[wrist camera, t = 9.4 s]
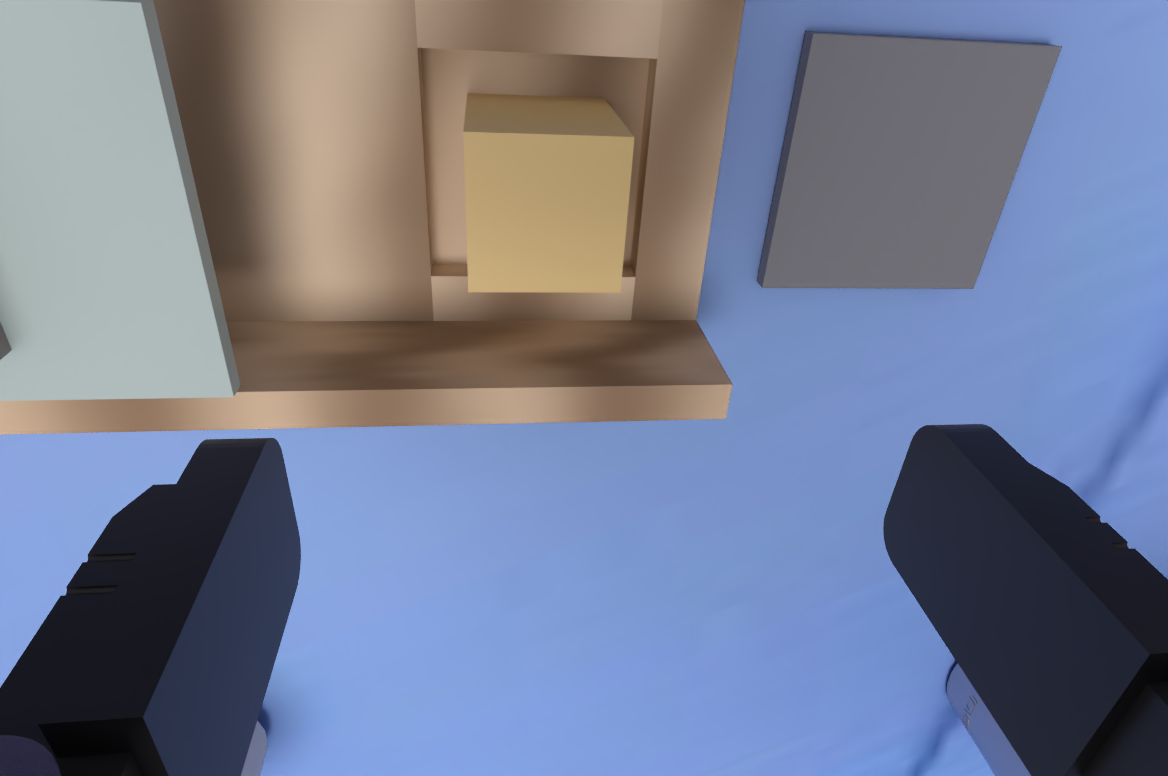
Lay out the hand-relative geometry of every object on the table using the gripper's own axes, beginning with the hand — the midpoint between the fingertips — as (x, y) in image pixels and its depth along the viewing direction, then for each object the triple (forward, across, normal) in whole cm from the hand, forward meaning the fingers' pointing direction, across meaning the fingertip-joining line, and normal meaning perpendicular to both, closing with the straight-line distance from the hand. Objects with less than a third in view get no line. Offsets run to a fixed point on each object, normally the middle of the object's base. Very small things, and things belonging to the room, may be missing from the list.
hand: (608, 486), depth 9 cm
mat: (+16, -12, 0) cm, 20 cm away
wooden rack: (+16, +4, 0) cm, 16 cm away
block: (+15, 0, 0) cm, 15 cm away
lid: (+10, +11, 0) cm, 15 cm away
